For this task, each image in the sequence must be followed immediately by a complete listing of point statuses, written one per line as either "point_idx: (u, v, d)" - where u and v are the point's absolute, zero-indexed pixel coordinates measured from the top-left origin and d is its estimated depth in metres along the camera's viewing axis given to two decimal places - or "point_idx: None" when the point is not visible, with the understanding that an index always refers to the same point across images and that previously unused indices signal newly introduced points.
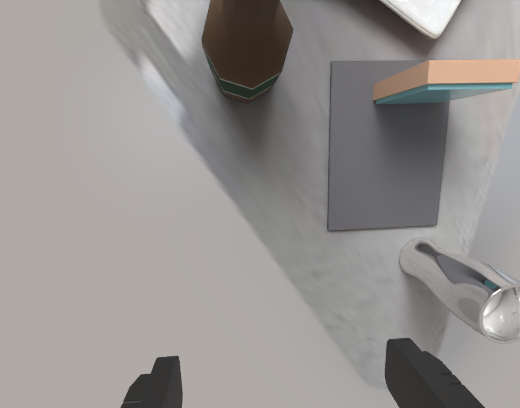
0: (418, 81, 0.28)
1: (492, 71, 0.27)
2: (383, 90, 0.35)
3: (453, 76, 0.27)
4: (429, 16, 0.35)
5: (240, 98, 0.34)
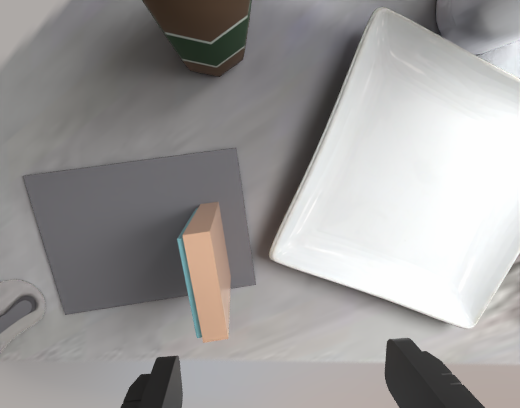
0: (191, 229, 0.22)
1: (209, 310, 0.22)
2: (205, 208, 0.29)
3: (196, 265, 0.22)
4: (292, 246, 0.33)
5: None
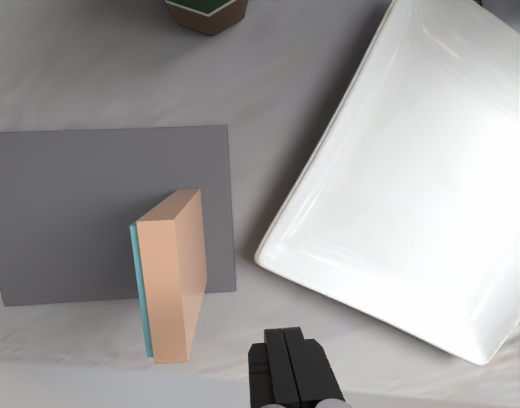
0: (151, 215, 0.17)
1: (165, 323, 0.17)
2: (181, 194, 0.24)
3: (152, 263, 0.16)
4: (283, 250, 0.28)
5: None
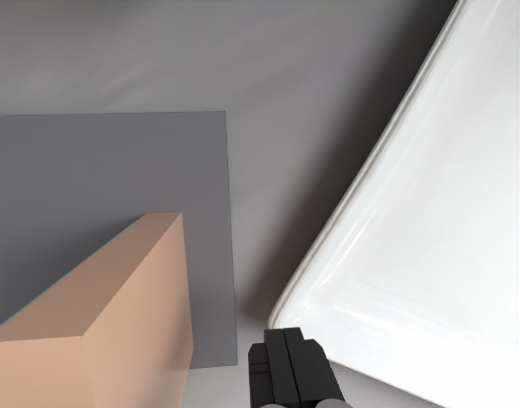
0: (45, 305, 0.07)
1: None
2: (145, 226, 0.14)
3: None
4: (312, 308, 0.18)
5: None
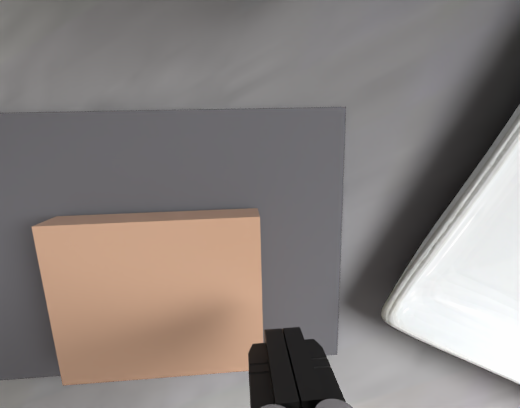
0: (77, 217, 0.16)
1: None
2: (208, 213, 0.16)
3: None
4: (417, 298, 0.18)
5: None
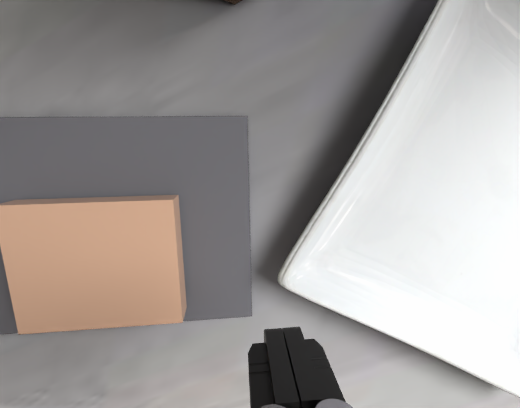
0: (31, 200, 0.20)
1: None
2: (136, 197, 0.20)
3: None
4: (311, 268, 0.23)
5: None
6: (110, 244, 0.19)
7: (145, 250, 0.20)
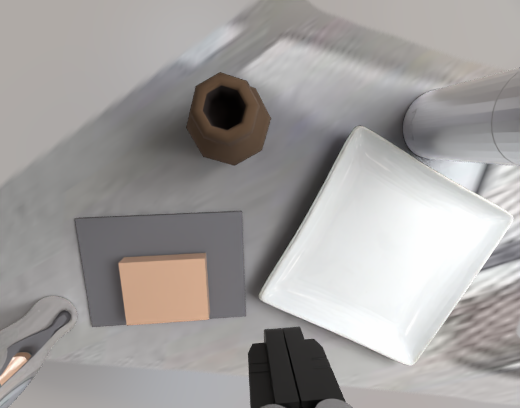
0: (133, 257, 0.39)
1: None
2: (185, 256, 0.39)
3: None
4: (277, 290, 0.42)
5: None
6: (173, 280, 0.38)
7: (190, 283, 0.39)
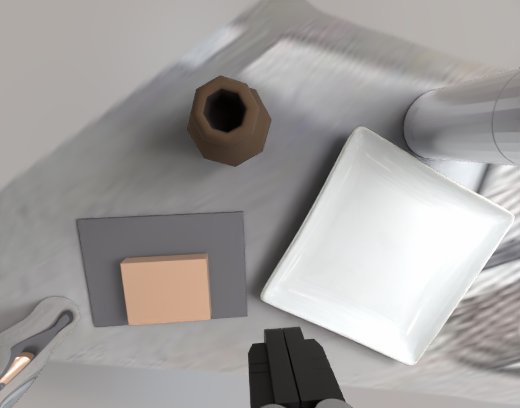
0: (134, 258, 0.39)
1: None
2: (186, 256, 0.39)
3: None
4: (279, 290, 0.42)
5: None
6: (175, 280, 0.39)
7: (192, 283, 0.39)
